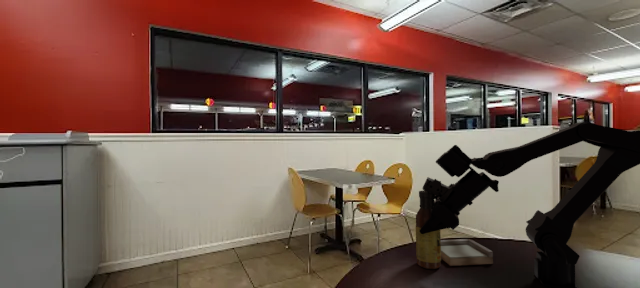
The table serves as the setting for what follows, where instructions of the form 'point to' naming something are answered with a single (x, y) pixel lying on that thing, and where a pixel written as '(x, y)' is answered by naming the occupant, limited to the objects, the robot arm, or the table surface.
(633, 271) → the table surface
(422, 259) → the sauce bottle
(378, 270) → the table surface
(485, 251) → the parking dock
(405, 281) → the table surface
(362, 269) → the table surface
